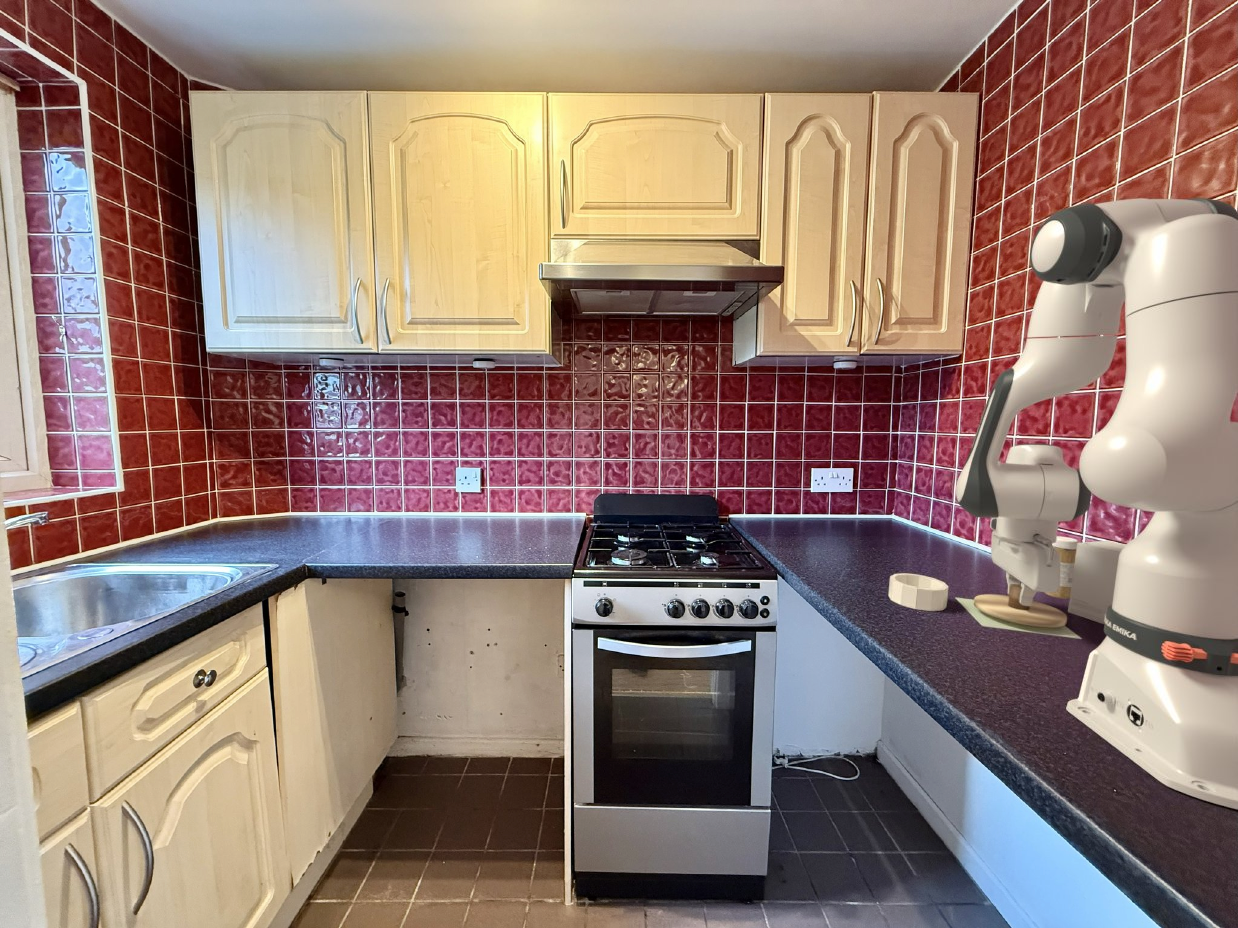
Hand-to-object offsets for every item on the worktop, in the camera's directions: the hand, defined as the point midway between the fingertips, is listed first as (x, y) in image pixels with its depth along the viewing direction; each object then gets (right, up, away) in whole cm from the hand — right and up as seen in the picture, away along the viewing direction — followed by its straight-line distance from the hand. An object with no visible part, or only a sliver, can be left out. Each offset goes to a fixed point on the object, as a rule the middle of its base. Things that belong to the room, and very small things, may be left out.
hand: (1019, 600), depth 97 cm
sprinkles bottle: (+19, -3, +14) cm, 24 cm away
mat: (-1, -4, +1) cm, 4 cm away
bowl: (-15, -3, +8) cm, 17 cm away
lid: (0, -2, 0) cm, 2 cm away
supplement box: (+18, -5, +2) cm, 19 cm away
